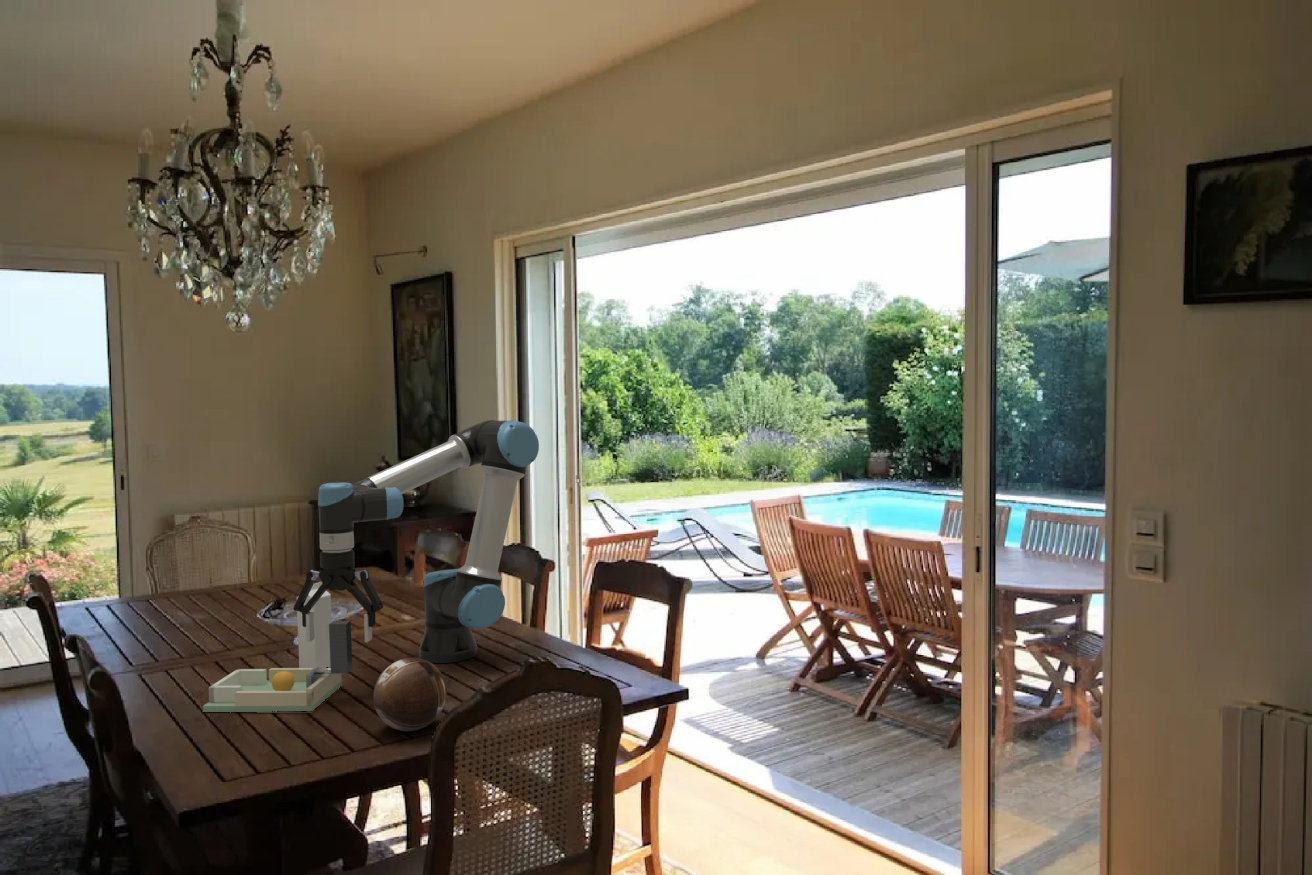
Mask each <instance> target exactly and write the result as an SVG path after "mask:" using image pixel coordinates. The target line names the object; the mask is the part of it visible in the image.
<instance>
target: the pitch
mask: <svg viewBox="0 0 1312 875" xmlns="http://www.w3.org/2000/svg"><path fill="white" fill-rule="evenodd" d="M311 669H313V668H299V667H270V668H269V669H268V670H267V668H264V669H263V668H249V669H248V668H244V669H243V668H238V669H235V670H233V672H231V673H229V674H227V675H226V676H224V677H223V678H221V679H220V680H218V681H216V682H215V683H213V684H212V685H210V686H209V687H208V702H207V703H204V705H203V706H202V713H203V712H230V714H231V712H257V713H278V712H277V711H313V710H314V709H315V708H316V707H317V706H319V705H320V704H321V703H322V702H323V701H325V699H326V698H328V697H329V696H330V695H331V694H332V693H334V692H335V691H336V690H337V689H338V690H340V689H341V688H340V686H342V687H343V674H322V677H321V678H319V679H318V680H317V681H316V682H314V683H313V684H312V685H311V686H309V687H308V688H306V675H307V674H309V673H310V672H311ZM267 671H268V672H267ZM281 671H287V672H290V673H291V674H292V675H293V677H294V680H295V682H294V686H293V687H292V689H291V690H290V691H275V690H274V689H273V687H272V679H273V677H274V676H275V674H277V673H278V672H281ZM339 688H340V689H339ZM338 690H337V691H338ZM337 691H336V692H337ZM336 692H335V693H336ZM335 693H334V694H335ZM330 697H331V696H330ZM330 697H329V698H330ZM329 698H328V699H329ZM325 702H326V701H325ZM322 704H323V703H322ZM322 704H321V705H322ZM321 705H320V706H321ZM320 706H319V707H320ZM272 711H273V712H272ZM274 711H275V712H274ZM314 711H315V710H314ZM314 711H313V712H314Z"/></svg>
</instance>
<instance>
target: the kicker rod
mask: <svg viewBox="0 0 1312 875" xmlns="http://www.w3.org/2000/svg"><path fill="white" fill-rule="evenodd" d="M329 640H330V666H331V667H328V668H321V667H316V668H313V669H311V672H310V673H309V674H307V675H306V688H308V687H309V686H311V685H312V684H313V683H314V682H316V681H317V680H318V679H319V678H321V677H322V674H342V675H343V674H348V673H350V672H351V671H352V670H353V645H352V620H332V623H330V624H329Z"/></svg>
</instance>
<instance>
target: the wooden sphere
mask: <svg viewBox="0 0 1312 875" xmlns="http://www.w3.org/2000/svg"><path fill="white" fill-rule="evenodd" d="M447 691H448V690H447V683H446V679H445V677H444V675H443V674H442V672H441V670H440V669H439V668H438V667H437V666H436V665H435V664H434V663H431V662H429V661H426V660H424V659H420V657H405V658H401V659H399V660H397V661H396V660H395V661H394V662H393V663H391V664H389V665H388V666H387V667H386V668H385V669H384V670H383V671H382V672H381V673H380V675H379V676H378V678H377V680H376V682H375V685H374V688H373V695H372V696H373V698H372V699H373V705H374V708H375V711H376V713H377V715H378V717H379V718H380V719H381V721H382V722H383V723H385V724H386V725H387V726H389V727H390V728H392V729H394V730H397V731H400V732H414V731H418V730H421V729H423V728H426V727H428V726H429V725H430V724H432V723H433V722H435V720H437V718H438V717H439V716H440V714H441V713H442V711H443V709H444V707H445V704H446V701H447V694H448V692H447Z"/></svg>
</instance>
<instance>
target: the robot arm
mask: <svg viewBox="0 0 1312 875" xmlns="http://www.w3.org/2000/svg"><path fill="white" fill-rule="evenodd" d="M539 451H540V442H539V437H538V435H537V434H536V433H535V431H534V429H533V428H532V427H531V426H530V425H529V424H528V423H525V422H521V421H518V420H496V419H495V420H493V419H492V420H491V419H490V420H485V421H481V422H478V423H476V424H474V425H472V426H468V427H467V428H465V429H462V430H461V431H458V432H457V433H454V434H453V435H451V436H449V437H448V440H447V441H446V442H443V443H442V444H439V445H437V446H435V447H433V448H429V449H428V450H426V451H423V452H421V453H420V454H417V455H415V456H413V457H411V458H408V459H406V460H403V461H402V462H399V463H397V464H394V465H392V466H390V467H388V468H385V469H383V470H381V471H378V472H377V473H374V474H373V475H370V476H368V477H366V478H363V479H362V480H358V481H357V482H354V483H352V482H351V483H350V482H327V483H323V484H321V485H320V486H319V488H318V501H317V507H318V518H319V519H318V522H319V523H318V524H319V525H318V526H319V550H321V552H320V553H319V566H320V571H316V570H315V569H311V570H309V571H307V572H306V576H305V582H304V584H303V585H302V586H303V587H302V589H301V591H300V593H299V595H298V596H299V597H298V596H297V597H298V599H297V598H296V601H295V603H294V606H293V610H294V611H295V612H297V611H299V612H301V613H302V625H303V627H306V636H307V642H311V641H312V640H314V639H315V636H314V611H311V612H310V610H311V608H312V607H313V606H314V605H315V604H316V602H317V601H318V600H319V599H320V597H321V596H322V595H323V594H324V593H325V591H328V590H329V591H330V592H331V591H347V592H348V593H350V594H351V595H352V597H353V598H355V600H356V601H357V602H358V603H359V605H360V606H361V607H362V608H363V609H364V611H365V613H364V614H363V625H364V628H363V630H364V643H369V642H371V640H373V633H372V632H373V630H372V629H373V628H374V627H375V626H376V622H377V621H376V612H379V611H380V610H382V609H383V608H384V604H383V602H382V599H381V598H380V596H379V595H378V592H377V591H376V590H377V589H376V588H375V587H374V585H373V583H372V581H371V579H370V572H369V570H368V569H363V570H361V571H359V570H358V571H356V569H355V551H354V549H353V548H354V547H355V536H354V534H355V533H354V531H355V530H354V528H355V526H354V523H360V522H369V521H370V522H372V521H374V522H375V521H383V520H385V521H387V520H391V519H397V518H399V517H400V516H401V515H402V513H403V510H404V496H403V495H404V494H406V493H408V492H409V491H411V490H414V489H415V488H417V487H420V486H422V485H424V484H427V483H429V482H430V481H433V480H435V479H437V478H440V477H442V476H444V475H446V474H448V473H450V472H452V471H455V470H457V469H459V468H462V469H468V468H469V467H472V466H476V465H479V464H481V465H480V468H481V469H482V471H483V473H484V477H483V482H482V487H481V491H480V496H479V500H478V505H477V510H476V514H475V518H474V522H473V527H472V532H471V535H470V540H469V546H468V550H467V554H466V559H465V562H464V565H462V566H461V567H459V568H454V569H453V568H452V569H443V570H437V571H432V572H429V573H427V574H425V575H424V578H423V586H422V588H423V601H424V603H423V604H424V621H425V622H424V623H425V624H424V628H425V629H424V633H423V636H422V639H421V642H420V646H419V650H418V652H419V658H420V659H424V660H426V661H429V662H430V663H432V664H450V663H457V662H463V661H468V660H469V659H472V658H474V657H475V656H476V655H478V645H477V642H476V639H475V636H474V634H473V630H472V629H477V630H483V629H487V628H489V627H491V626H492V625H493V624H495V623H497V622H498V621H499V620H500V618H501V616H502V615H503V614H504V613H503V612H504V611H505V608H506V598H505V595H504V594H503V593H504V592H503V591H502V589H501V586H502V581H503V580H502V579H503V578H502V576H501V574H500V573H499V566H500V563H501V562H500V561H501V558H502V554H503V548H504V544H505V540H506V535H507V531H508V527H509V522H510V516H511V512H512V508H513V503H514V500H515V499H514V498H515V496H516V495H515V494H516V489H517V485H518V482H519V480H521V479H522V478H524V477H525V475H526V471H527V467H528V466H529V465H531V464H532V463H533V462H534V461H536V459H537V457H538V454H539ZM356 578H357V579H358V581H360V582H361V585H362V587H363V589H364V592H365V593H366V595H367V596H366V595H365V594H364V592H363V591H362V590H361V589H360V588H359V586H358V584H357V583H356V582H355V581H354V580H355V579H356ZM318 579H319V580H321V581H320V582H322V585H321V586H320V587H319V588H318V590H317V591H316V593H315V594H314V595H313V596H312V598H311V599H310V600H309V601H308V602H307V604H306V605H305V606H304V603H305V601H306V599H307V597H308V595H309V592H310V590H311V588H312V586H313V584H314V583H315V581H316V580H318Z"/></svg>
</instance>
